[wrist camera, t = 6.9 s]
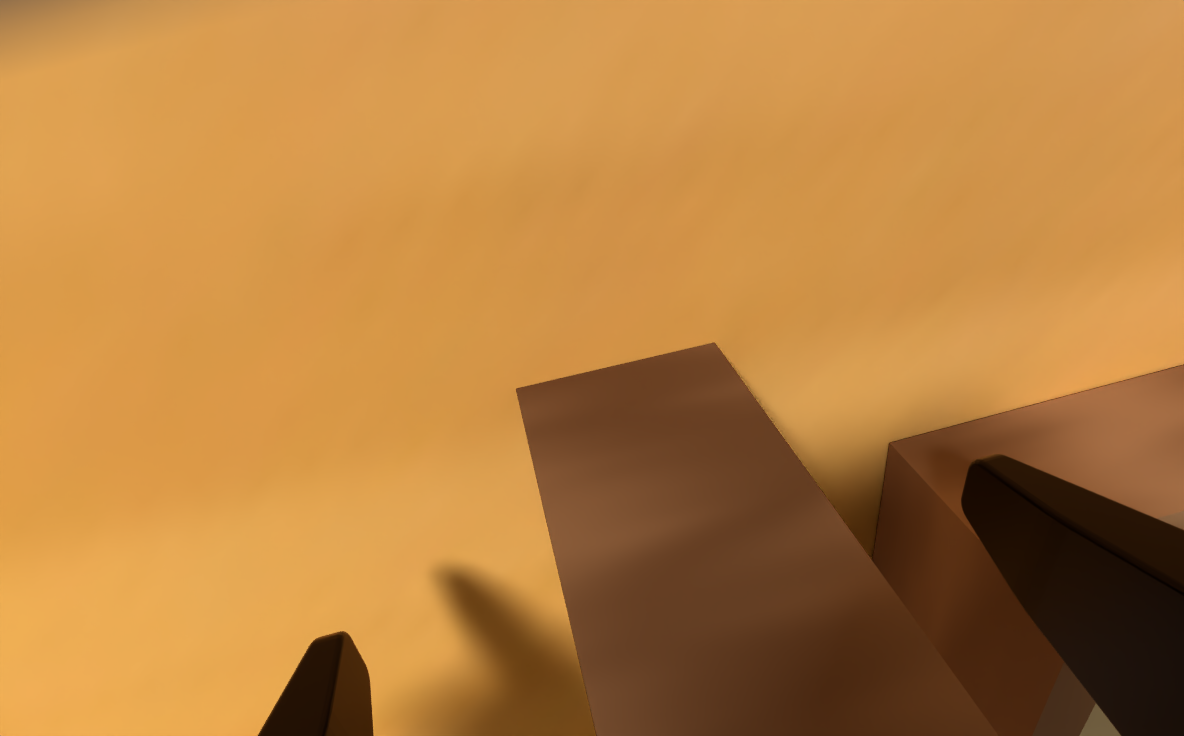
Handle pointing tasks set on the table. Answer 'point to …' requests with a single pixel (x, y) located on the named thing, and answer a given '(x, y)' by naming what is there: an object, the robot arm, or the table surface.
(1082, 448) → the wooden tray
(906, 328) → the table surface
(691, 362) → the brown rectangular block
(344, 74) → the table surface
